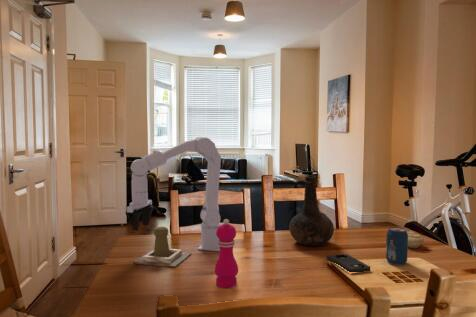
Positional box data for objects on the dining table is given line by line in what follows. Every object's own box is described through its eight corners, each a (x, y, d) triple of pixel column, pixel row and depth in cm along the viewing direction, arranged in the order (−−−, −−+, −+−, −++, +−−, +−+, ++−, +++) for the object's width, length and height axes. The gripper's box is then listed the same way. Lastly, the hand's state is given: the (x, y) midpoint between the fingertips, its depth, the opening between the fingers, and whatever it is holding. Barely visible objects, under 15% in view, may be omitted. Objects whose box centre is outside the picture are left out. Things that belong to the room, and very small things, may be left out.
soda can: (406, 260, 134) (407, 227, 133) (408, 267, 127) (409, 232, 127) (385, 258, 136) (386, 225, 135) (386, 264, 130) (387, 230, 129)
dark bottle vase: (342, 244, 153) (343, 176, 150) (311, 252, 142) (312, 180, 140) (310, 234, 167) (311, 172, 165) (280, 241, 157) (280, 175, 155)
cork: (166, 260, 133) (166, 229, 132) (150, 259, 134) (150, 229, 133) (172, 254, 139) (172, 225, 138) (156, 253, 140) (156, 224, 139)
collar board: (191, 254, 141) (191, 249, 140) (174, 267, 127) (174, 261, 127) (153, 251, 145) (152, 245, 145) (133, 263, 132) (133, 257, 131)
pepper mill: (214, 279, 117) (213, 216, 115) (237, 278, 118) (237, 216, 116) (214, 289, 110) (214, 222, 108) (239, 288, 110) (239, 221, 109)
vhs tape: (370, 272, 124) (370, 266, 124) (350, 275, 121) (350, 269, 121) (346, 258, 137) (346, 253, 137) (327, 261, 135) (327, 255, 135)
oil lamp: (409, 239, 161) (410, 227, 160) (433, 249, 147) (434, 236, 146) (387, 240, 159) (388, 229, 158) (409, 251, 145) (410, 238, 144)
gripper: (140, 188, 147) (141, 222, 148) (119, 194, 133) (120, 231, 134) (156, 188, 145) (157, 223, 146) (136, 195, 131) (137, 233, 132)
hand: (140, 227), depth 140 cm, fingers open, 7 cm apart
